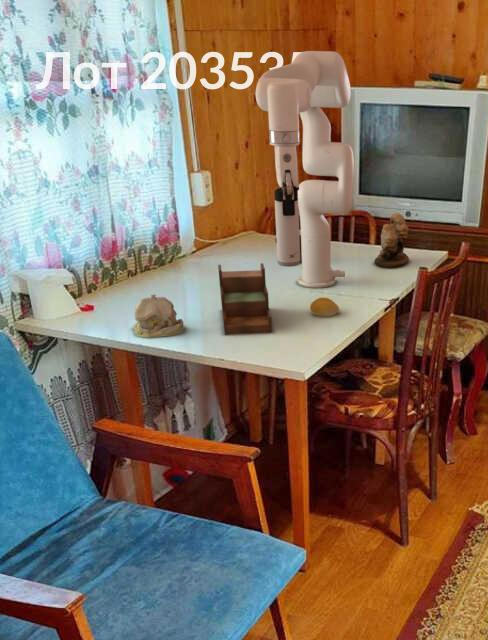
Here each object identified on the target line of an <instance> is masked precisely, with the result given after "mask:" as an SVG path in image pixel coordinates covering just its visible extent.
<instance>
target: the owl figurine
mask: <svg viewBox="0 0 488 640" xmlns="http://www.w3.org/2000/svg"><path fill="white" fill-rule="evenodd" d="M389 218H390V219H389V221H390V223H385V224H383V226H382V229H381V234H380V247H381V250H379V254H378V255H377V257H376V258H375V259H374V265H375V266H377V267H379V268H383V269H397V268H398V269H399V268H401V267H405V266H406V265H407V264H408V263H409V261H410V257H409V256H408V255H407V254H406V253H405V252H404V249H405V246H406V242H407V241H408V236H409V226H408V225H407V224H406V223H407V222H406V220H405V217H404V216H403V215H402V214H400V213H398V212H393V213H392V214H391V215H390V217H389Z"/></svg>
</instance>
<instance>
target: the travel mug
mask: <svg viewBox="0 0 488 640" xmlns="http://www.w3.org/2000/svg"><path fill="white" fill-rule="evenodd" d="M298 190H299V187H297V188H296V187H295V186H293V191H294V199H295V215H294V216H284V215H283V208H282V199H283V190H282V188H280V187H278V188H276V189H274V214H275V215H274V216H275V217H274V218H275V234H276V236H275V239H276V238H277V244H276V255H277V257H276V258H277V264H278V265H279V266H281V267H287V268H291V267H296V266H299V265H301V263H300V240H299V230H300V213H299V206H298V197H297V196H298ZM285 191H286V190H285Z"/></svg>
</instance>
